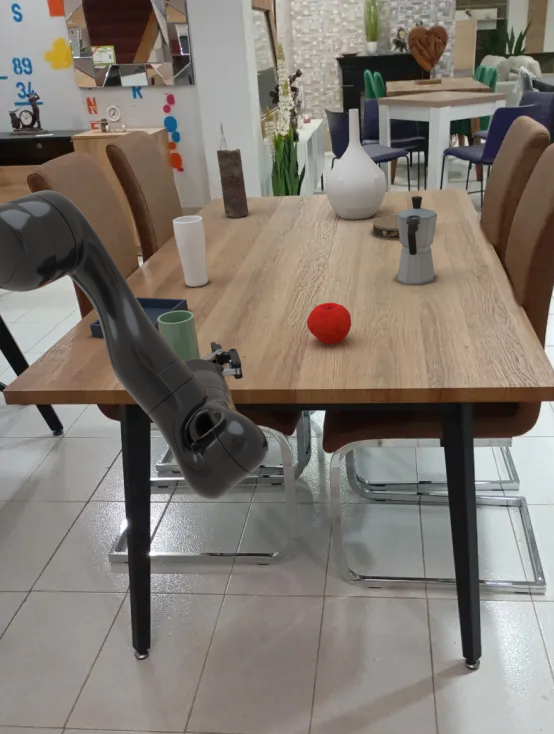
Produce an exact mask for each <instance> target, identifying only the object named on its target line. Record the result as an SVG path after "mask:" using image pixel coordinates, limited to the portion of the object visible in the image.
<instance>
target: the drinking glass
mask: <svg viewBox="0 0 554 734" xmlns="http://www.w3.org/2000/svg"><path fill="white" fill-rule="evenodd" d="M203 219H204V218H203V217H202V216H199V215H184V216H183V215H182V216H179V217H176V218H174V219H173V220H172V227H173V235H174V239H175V243H176V244H175V245H176V248H177V253H178V256H179V260H180V265H181V269H182V274H183V278H184V283H185V285H186V286H188V287H190V288H197V287H202V286H205V285H207V284H208V283H209V277H208V262H207V245H206V244H207V242H206V232H205V231H206V230H205V225H204V220H203Z"/></svg>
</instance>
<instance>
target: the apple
mask: <svg viewBox="0 0 554 734" xmlns="http://www.w3.org/2000/svg"><path fill="white" fill-rule="evenodd" d="M351 318H352V317H351V314H350V312H349V310H348V308H346V307H345V306H343V305H342V304H339V303H336V302H324V303H320V304H318V305H316V306H315V307H314V308H313V309H312V310H311V312H310V313H309V315H308V317H307V320H306V325H307V329H308V330H309V332H310V334H311V335H313V336H314V337H315V338H316V339H317V340H318V341H319V342H321V343H323V344H326V345H337V344H340V343H342V342H343V341H344V340H345V339H346V338H347V336H348V334H349V333H350V330H351V327H352V319H351Z"/></svg>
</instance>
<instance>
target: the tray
mask: <svg viewBox="0 0 554 734" xmlns="http://www.w3.org/2000/svg"><path fill="white" fill-rule="evenodd" d="M135 297H136V298H137V300H138V302H139V303H140V305H141V306H142V308H143V310H144V311H145V313H146V314H147V316H148V317H149V319H150V320H151V322H152V323H153V324H154V326H155V327H156V329H157V330H158V331H159V328H158V322H157V319H158V317H159V316H160V315H162V314H164V313H167V312H172V311H180V310H181V311H189V306H188V300H187V299H186V298H184V299H182V298H165V297H164V298H163V297H161V298H160V297H140V296H138V297H137V296H135ZM89 328H90V331H91V336H92V337H93V338H104V336H103V332H102V328H101V325H100V321H99V319H98V318H97V319H96V320H95V321H94V322H91V324H89Z"/></svg>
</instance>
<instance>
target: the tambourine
mask: <svg viewBox="0 0 554 734" xmlns="http://www.w3.org/2000/svg"><path fill="white" fill-rule="evenodd" d="M372 230H373V231H372V234H373V235H374V236H375V237H377V238H380V239H384V240H385V239H386V240H395V241H400V237H399V229H398V221H397V214H390V215H384V216H380V217H377V218H375V219H374V220H373V221H372Z"/></svg>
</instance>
